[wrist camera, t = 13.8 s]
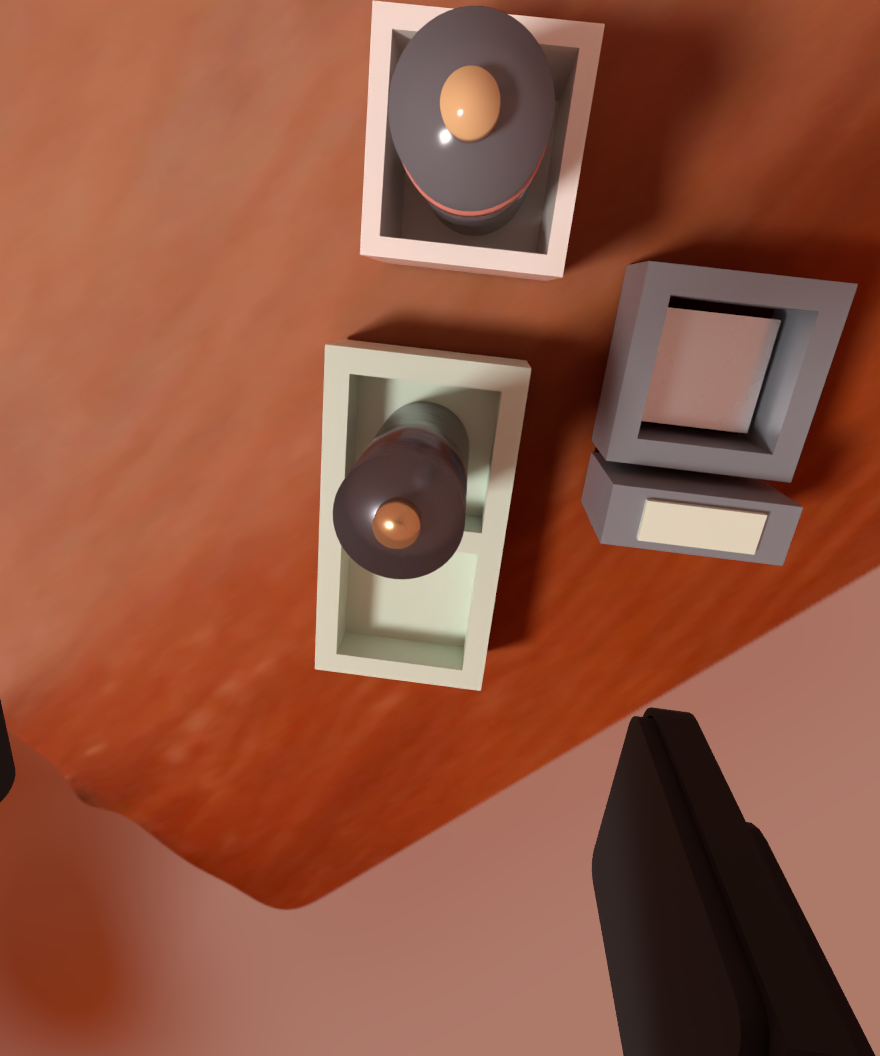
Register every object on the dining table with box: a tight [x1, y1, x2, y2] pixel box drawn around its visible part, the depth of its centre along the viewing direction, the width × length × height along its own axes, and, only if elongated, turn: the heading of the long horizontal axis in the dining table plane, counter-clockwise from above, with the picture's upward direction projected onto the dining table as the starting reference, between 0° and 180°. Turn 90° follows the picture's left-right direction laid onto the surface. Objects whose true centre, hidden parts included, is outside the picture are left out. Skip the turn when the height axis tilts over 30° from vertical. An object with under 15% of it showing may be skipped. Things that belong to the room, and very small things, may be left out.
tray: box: [315, 339, 531, 691], centre depth 27 cm, size 15×8×3 cm, turn 174°
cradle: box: [581, 261, 858, 566], centre depth 23 cm, size 10×7×5 cm
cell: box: [333, 401, 469, 579], centre depth 22 cm, size 4×4×10 cm
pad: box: [642, 307, 781, 433], centre depth 24 cm, size 4×4×2 cm
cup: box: [360, 1, 605, 281], centre depth 19 cm, size 7×7×10 cm
